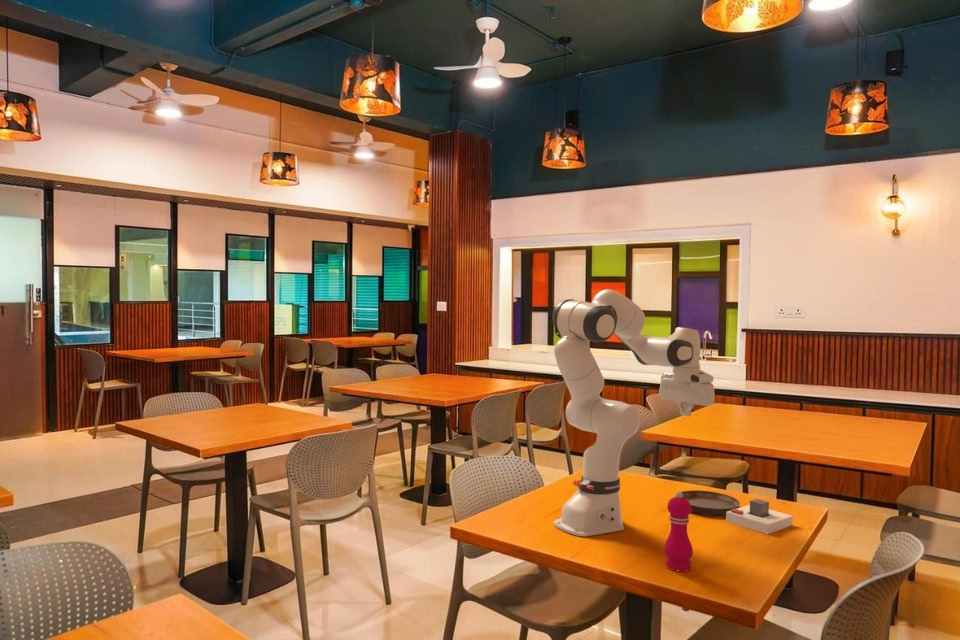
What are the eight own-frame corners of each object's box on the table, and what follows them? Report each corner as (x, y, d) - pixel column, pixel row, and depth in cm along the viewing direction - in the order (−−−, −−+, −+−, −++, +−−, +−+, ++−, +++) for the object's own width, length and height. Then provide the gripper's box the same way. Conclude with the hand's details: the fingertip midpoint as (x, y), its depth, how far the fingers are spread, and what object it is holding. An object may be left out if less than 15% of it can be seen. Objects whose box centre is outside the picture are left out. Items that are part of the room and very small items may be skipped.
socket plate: (767, 534, 195) (767, 522, 195) (726, 521, 206) (726, 509, 206) (792, 525, 203) (792, 513, 203) (751, 513, 214) (751, 501, 214)
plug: (761, 526, 202) (761, 504, 201) (749, 522, 205) (749, 500, 205) (768, 524, 204) (768, 502, 204) (756, 520, 207) (757, 498, 207)
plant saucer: (701, 495, 234) (702, 486, 234) (752, 511, 217) (753, 501, 217) (662, 504, 223) (662, 495, 223) (712, 522, 206) (713, 512, 206)
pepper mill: (686, 561, 174) (688, 487, 173) (696, 572, 167) (698, 495, 166) (660, 561, 174) (661, 487, 173) (669, 572, 167) (670, 495, 166)
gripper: (655, 372, 226) (654, 411, 226) (706, 378, 209) (705, 421, 209) (667, 371, 229) (666, 410, 230) (717, 377, 213) (717, 419, 213)
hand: (685, 415), depth 219 cm, fingers closed
